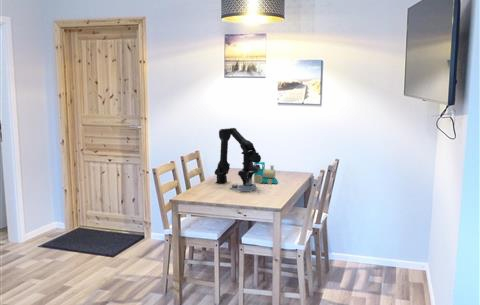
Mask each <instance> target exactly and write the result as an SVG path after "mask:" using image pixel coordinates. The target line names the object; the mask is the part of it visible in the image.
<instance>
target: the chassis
mask: <svg viewBox="0 0 480 305" xmlns="http://www.w3.org/2000/svg"><path fill="white" fill-rule="evenodd" d="M256 189H257V183H256V184H255V183H252V186H244V185H243V184H231V187H230V188H229V190H233V191H239V192H240V191H241V192H248V193H249V192H250V193H251V192H252V191H255V190H256Z"/></svg>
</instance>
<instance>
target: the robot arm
mask: <svg viewBox="0 0 480 305" xmlns="http://www.w3.org/2000/svg"><path fill="white" fill-rule="evenodd" d="M231 136H232V137H233V138H234V139H235V140H236V142H238V144H239V147H240V148H241V151H242V152H241V154H242V155H243V157H242V159H243V161H242V163H241V164H242V165H243V167H242V169H241V170H239V171H238V172H237V175H238V176H239V177H240V179H241V182H242V184H243V183H244V185H246V180H247V177H248V178H250V179H252V178H253V177H254V173H257V172H259V170H260V169H261V164H257V165H254V163H259V162H262V161H261V160H262V157H261V155H260V153H259V152H257V150H256V148H255V146H254V144H253V143H252V142H251V141H250V140H247V139H246V138H245V137H244V136H243V135H242V134H241V133H240V132H239V131H238V130H237V128H235V127H229V128H220V129H219V131H218V138H219V139H220V157H219V158H220V159H219V162H218V163H217V167H216V169H215V170H214V175H216V182H215V184H222V185H223V184H226V183H227V182H228V176H227V175H229V171H230V169H231V168H230V165H231V164H230V163H229V162H228V152H229V151H228V149H229V140H230V139H231ZM252 180H253V179H252Z"/></svg>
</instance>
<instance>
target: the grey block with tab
mask: <svg viewBox="0 0 480 305" xmlns="http://www.w3.org/2000/svg"><path fill="white" fill-rule="evenodd" d="M252 184H253V179H250V178H248V177H247V180H246V185H244V183H243V182H242V185H244V186H252Z"/></svg>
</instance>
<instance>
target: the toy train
mask: <svg viewBox="0 0 480 305" xmlns="http://www.w3.org/2000/svg"><path fill="white" fill-rule="evenodd" d="M253 165H261V168H260V170H259V172H257V173H254V174H253V181H254V184H255V183H256V185H258V184H260V185H261V184H262V183H264V184H265V183H267V185H272V184H278V182H279V180H277V178H276V169H274V168H275V165H274V164H271V165H269V166H270V168H269V169H267V168H265V166H266V162H265V161H260V162H259V163H255V162H253Z"/></svg>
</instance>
